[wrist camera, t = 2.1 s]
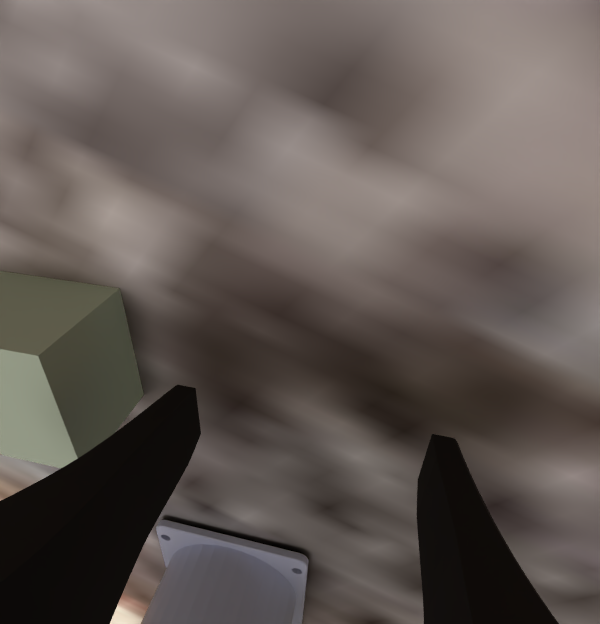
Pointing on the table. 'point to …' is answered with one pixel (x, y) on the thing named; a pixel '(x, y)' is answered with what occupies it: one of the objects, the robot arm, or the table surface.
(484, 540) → the robot arm
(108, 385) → the sage block
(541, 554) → the table surface
